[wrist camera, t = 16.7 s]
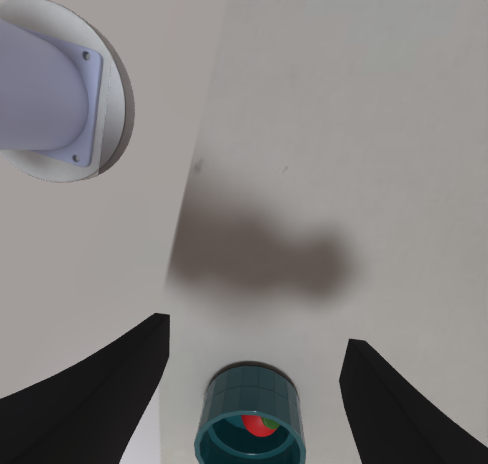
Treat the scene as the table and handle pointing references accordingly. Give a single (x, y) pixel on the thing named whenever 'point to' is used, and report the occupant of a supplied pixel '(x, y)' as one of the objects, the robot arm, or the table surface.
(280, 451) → the bowl
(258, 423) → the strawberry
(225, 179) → the table surface
